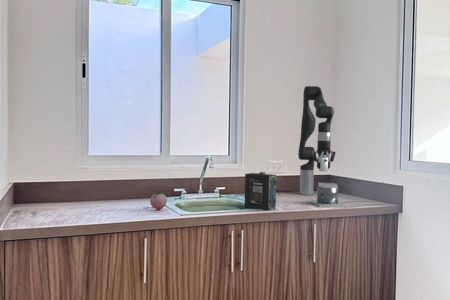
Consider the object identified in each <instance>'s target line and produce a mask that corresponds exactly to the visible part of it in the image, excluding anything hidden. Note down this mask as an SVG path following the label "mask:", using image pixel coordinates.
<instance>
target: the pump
mask: <svg viewBox="0 0 450 300" xmlns="http://www.w3.org/2000/svg"><path fill="white" fill-rule="evenodd" d="M328 170H329V169H328V158H327V155H323V156H322V159H321V160H320V169H318V171H319V172H328Z"/></svg>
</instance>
